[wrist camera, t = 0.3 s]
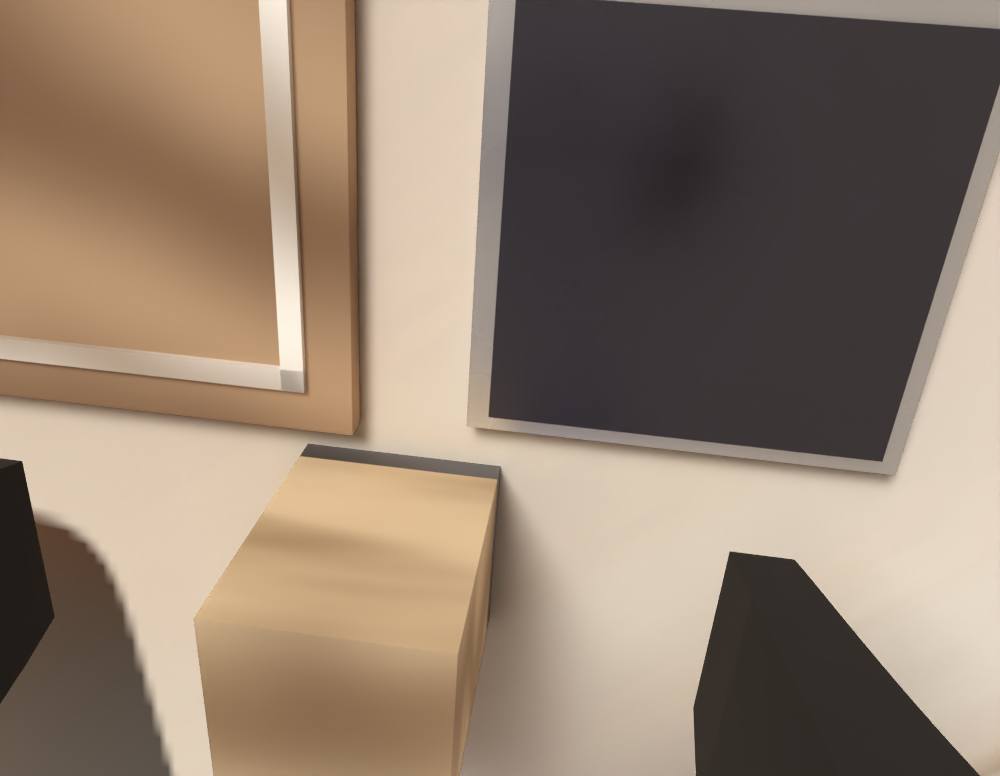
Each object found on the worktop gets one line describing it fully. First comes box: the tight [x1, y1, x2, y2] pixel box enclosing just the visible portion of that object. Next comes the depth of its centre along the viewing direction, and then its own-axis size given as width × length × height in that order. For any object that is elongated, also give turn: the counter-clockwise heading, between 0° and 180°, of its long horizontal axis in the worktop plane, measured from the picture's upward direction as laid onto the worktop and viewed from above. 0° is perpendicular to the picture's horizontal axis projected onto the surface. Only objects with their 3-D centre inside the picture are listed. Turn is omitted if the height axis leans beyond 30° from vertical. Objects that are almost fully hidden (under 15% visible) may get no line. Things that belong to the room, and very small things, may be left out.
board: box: [0, 0, 360, 435], centre depth 17 cm, size 11×11×1 cm
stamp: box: [194, 444, 500, 776], centre depth 18 cm, size 4×4×6 cm
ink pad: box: [467, 0, 1000, 475], centre depth 16 cm, size 9×9×1 cm
